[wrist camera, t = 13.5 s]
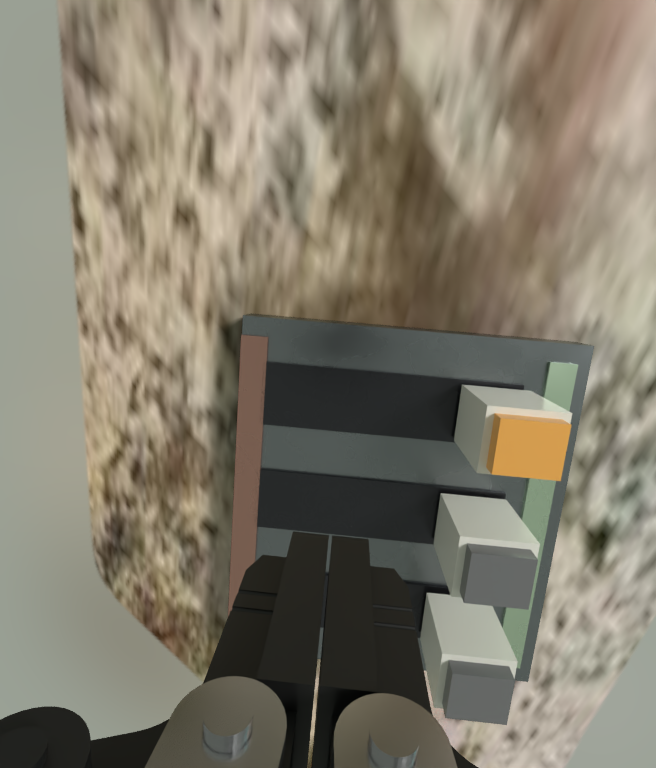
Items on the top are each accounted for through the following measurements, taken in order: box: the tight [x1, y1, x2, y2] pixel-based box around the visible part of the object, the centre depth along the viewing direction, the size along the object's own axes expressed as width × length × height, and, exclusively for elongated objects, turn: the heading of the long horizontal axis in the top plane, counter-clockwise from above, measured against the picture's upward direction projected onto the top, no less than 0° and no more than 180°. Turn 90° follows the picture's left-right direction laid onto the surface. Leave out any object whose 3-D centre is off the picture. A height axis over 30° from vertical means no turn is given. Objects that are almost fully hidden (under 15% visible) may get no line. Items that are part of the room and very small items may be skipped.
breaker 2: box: [420, 593, 518, 725], centre depth 24 cm, size 3×4×5 cm
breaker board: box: [228, 314, 594, 682], centre depth 27 cm, size 20×18×2 cm
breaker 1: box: [434, 493, 540, 610], centre depth 23 cm, size 3×4×5 cm
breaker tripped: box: [454, 385, 572, 481], centre depth 21 cm, size 3×4×5 cm
